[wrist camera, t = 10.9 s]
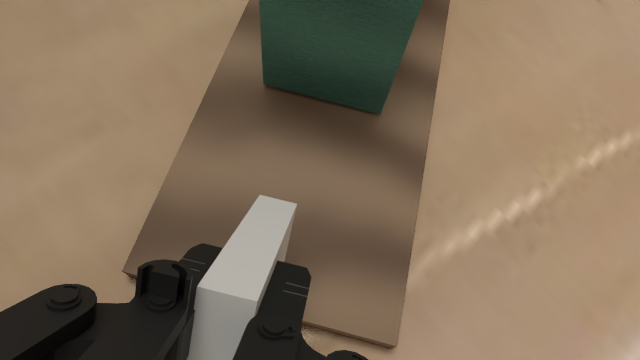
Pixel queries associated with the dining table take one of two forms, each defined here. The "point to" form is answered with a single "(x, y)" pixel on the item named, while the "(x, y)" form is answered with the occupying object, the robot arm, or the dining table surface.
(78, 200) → the dining table surface
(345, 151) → the walnut board
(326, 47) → the shaft
